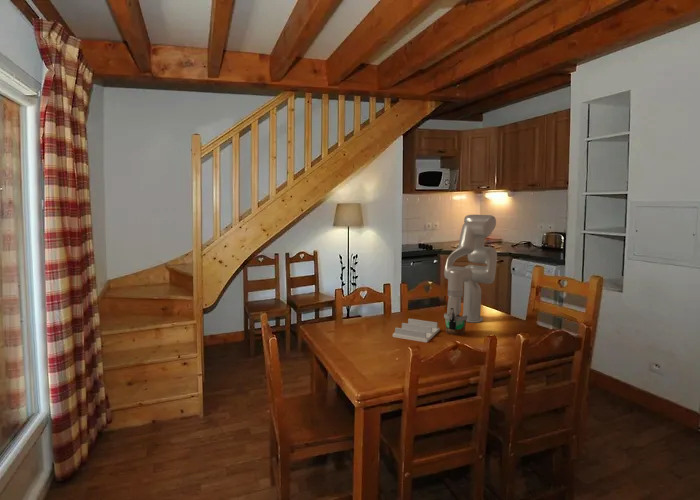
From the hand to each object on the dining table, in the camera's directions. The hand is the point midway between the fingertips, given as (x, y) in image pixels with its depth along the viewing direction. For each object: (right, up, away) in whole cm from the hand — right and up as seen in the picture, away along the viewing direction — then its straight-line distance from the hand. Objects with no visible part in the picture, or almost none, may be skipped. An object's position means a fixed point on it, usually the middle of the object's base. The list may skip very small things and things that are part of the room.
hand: (454, 327), depth 232 cm
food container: (0, -4, 0) cm, 4 cm away
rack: (-19, -4, +1) cm, 20 cm away
